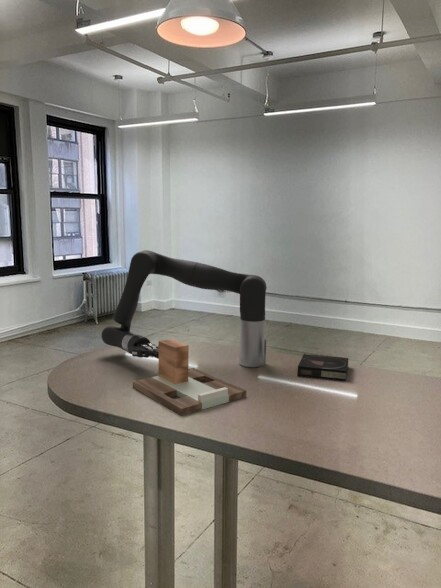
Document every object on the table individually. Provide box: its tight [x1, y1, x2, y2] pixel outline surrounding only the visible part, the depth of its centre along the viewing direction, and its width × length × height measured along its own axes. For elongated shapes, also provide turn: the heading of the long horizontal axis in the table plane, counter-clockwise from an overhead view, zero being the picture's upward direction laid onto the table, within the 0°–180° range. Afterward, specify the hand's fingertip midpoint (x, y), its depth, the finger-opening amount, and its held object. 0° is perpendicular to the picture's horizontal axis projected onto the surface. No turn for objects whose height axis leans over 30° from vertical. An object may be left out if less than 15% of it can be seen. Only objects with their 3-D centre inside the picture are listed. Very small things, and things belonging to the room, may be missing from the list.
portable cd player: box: [296, 353, 349, 382], centre depth 176 cm, size 16×17×4 cm
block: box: [158, 338, 190, 384], centre depth 160 cm, size 5×10×12 cm, turn 39°
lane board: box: [132, 367, 247, 416], centre depth 154 cm, size 24×28×4 cm
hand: (161, 355), depth 165 cm, fingers closed
